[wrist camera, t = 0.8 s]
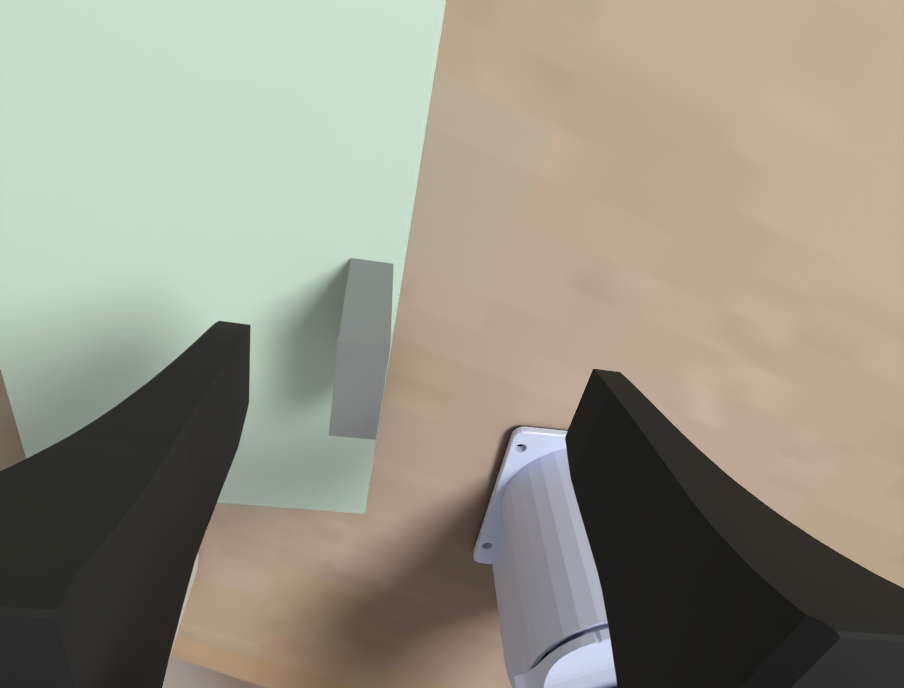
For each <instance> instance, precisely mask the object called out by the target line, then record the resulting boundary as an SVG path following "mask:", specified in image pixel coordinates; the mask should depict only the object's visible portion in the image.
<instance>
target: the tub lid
mask: <svg viewBox="0 0 904 688" xmlns="http://www.w3.org/2000/svg"><path fill="white" fill-rule="evenodd" d="M445 4H446V0H0V370H1V373H2V377H3V380H4V384H5V387H6V391H7V394H8V398H9V401H10V404H11V408H12V411H13V415H14V418H15V422H16V425H17V429H18V432H19V436H20V439H21V443H22V446H23V450H24V453H25V456H26V459H27V458H29V457H31V456H33V455H34V454H36V453H38V452H40V451H42V450H44V449H46V448H48V447H50V446H52V445H54V444H55V443H57V442H59V441H61V440H63V439H65V438H67V437H68V436H70V435H72V434H74V433H75V432H77V431H78V430H80V429H82V428H83V427H85V426H86V425H88V424H90V423H91V422H93V421H94V420H96V419H97V418H99V417H101V416H102V415H103V414H105V413H106V412H108V411H109V410H111V409H112V408H114V407H115V406H117V405H118V404H119V403H121V402H122V401H123V400H125V399H126V398H127V397H129V396H130V395H131V394H133V393H134V392H135V391H137V390H138V389H139V388H141V387H142V386H143V385H145V384H146V383H147V382H149V381H150V380H151V379H152V378H154V377H155V376H156V375H157V374H158V373H160V372H161V371H162V370H163V369H164V368H165V367H167V366H168V365H169V364H170V363H171V362H173V361H174V360H175V359H176V358H177V357H178V356H180V355H181V354H182V353H183V352H184V351H185V350H186V349H187V348H188V347H190V346H191V345H192V344H193V343H194V342H195V341H196V340H197V339H198V338H199V337H200V336H201V335H203V334H204V333H205V332H206V331H207V330H208V329H209V328H210V327H211V326H212V325H213V324H215V323H216V322H218V321H225V322H233V323H241V324H248V325H251V326H250V379H249V405H248V409H247V414H246V418H245V422H244V426H243V430H242V434H241V438H240V442H239V446H238V449H237V451H236V454H235V457H234V459H233V462H232V464H231V467H230V470H229V472H228V475H227V477H226V480H225V483H224V485H223V488H222V490H221V493H220V495H219V498H218V501H217V503H228V504H241V505H255V506H269V507H282V508H296V509H309V510H323V511H337V512H350V513H364V514H365V509H366V503H367V496H368V490H369V484H370V477H371V471H372V465H373V459H374V452H375V446H376V440H377V433H378V427H379V421H380V414H381V408H382V402H383V395H384V389H385V383H386V376H387V370H388V364H389V357H390V351H391V345H392V339H393V332H394V326H395V320H396V313H397V307H398V301H399V294H400V288H401V282H402V275H403V269H404V263H405V256H406V250H407V244H408V237H409V231H410V225H411V218H412V212H413V206H414V200H415V193H416V187H417V181H418V174H419V168H420V162H421V155H422V149H423V143H424V136H425V130H426V124H427V117H428V111H429V105H430V98H431V92H432V86H433V80H434V73H435V67H436V61H437V54H438V48H439V42H440V35H441V29H442V23H443V16H444V10H445Z"/></svg>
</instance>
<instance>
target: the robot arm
mask: <svg viewBox="0 0 904 688" xmlns="http://www.w3.org/2000/svg"><path fill="white" fill-rule="evenodd" d="M250 326H251V325H248V324H241V323H233V322H225V321H218V322H216V323H215V324H213V325H212V326H211V327H210V328H209V329H208V330H207V331H206V332H205V333H204V334H203V335H201V336H200V337H199V338H198V339H197V340H196V341H195V342H194V343H193V344H192V345H191V346H190V347H188V348H187V349H186V350H185V351H184V352H183V353H182V354H181V355H180V356H178V357H177V358H176V359H175V360H174V361H173V362H171V363H170V364H169V365H168V366H167V367H165V368H164V369H163V370H162V371H161V372H160V373H158V374H157V375H156V376H155V377H154V378H152V379H151V380H150V381H149V382H147V383H146V384H145V385H143V386H142V387H141V388H139V389H138V390H137V391H135V392H134V393H133V394H131V395H130V396H129V397H127V398H126V399H125V400H123V401H122V402H121V403H119V404H118V405H117V406H115V407H114V408H112V409H111V410H109V411H108V412H106V413H105V414H103V415H102V416H101V417H99V418H97V419H96V420H94V421H93V422H91V423H90V424H88V425H86V426H85V427H83V428H82V429H80V430H78V431H77V432H75V433H74V434H72V435H70V436H68V437H67V438H65V439H63V440H61V441H59V442H57V443H55V444H54V445H52V446H50V447H48V448H46V449H44V450H42V451H40V452H38V453H36V454H34V455H33V456H31V457H29V458H27V459H25V460H23V461H21V462H19V463H17V464H15V465H13V466H11V467H9V468H7V469H5V470H2V471H0V688H162V685H163V681H164V677H165V673H166V669H167V665H168V661H169V657H170V653H171V649H172V645H173V642H174V638H175V634H176V630H177V626H178V622H179V618H180V615H181V611H182V607H183V603H184V600H185V596H186V592H187V589H188V585H189V581H190V578H191V574H192V570H193V567H194V563H195V560H196V557H197V554H198V551H199V548H200V545H201V542H202V539H203V537H204V534H205V531H206V529H207V526H208V524H209V521H210V519H211V516H212V513H213V511H214V508H215V506H216V503H217V501H218V498H219V495H220V493H221V490H222V488H223V485H224V483H225V480H226V477H227V475H228V472H229V470H230V467H231V464H232V462H233V459H234V457H235V454H236V451H237V449H238V446H239V442H240V438H241V434H242V430H243V426H244V422H245V418H246V414H247V409H248V405H249V379H250ZM519 444H524V445H522V446H517V445H519ZM473 557H474V560H475V561H476V562H478V563H484V564H492V566H493V574H494V582H495V590H496V598H497V606H498V614H499V622H500V629H501V637H502V645H503V653H504V661H505V667H506V671H507V675H508V678H509V681H510V683H511V685H512V687H513V688H904V588H902V587H900V586H898V585H896V584H894V583H892V582H890V581H888V580H886V579H884V578H882V577H880V576H878V575H876V574H875V573H873V572H871V571H869V570H867V569H866V568H864V567H862V566H860V565H859V564H857V563H855V562H853V561H852V560H850V559H848V558H846V557H845V556H843V555H841V554H839V553H838V552H836V551H834V550H833V549H831V548H830V547H828V546H826V545H825V544H823V543H821V542H820V541H818V540H817V539H815V538H813V537H812V536H810V535H809V534H807V533H806V532H804V531H803V530H801V529H800V528H798V527H797V526H795V525H794V524H792V523H791V522H789V521H788V520H786V519H785V518H783V517H782V516H781V515H779V514H778V513H776V512H775V511H774V510H772V509H771V508H769V507H768V506H767V505H765V504H764V503H763V502H761V501H760V500H759V499H757V498H756V497H755V496H754V495H752V494H751V493H750V492H748V491H747V490H746V489H745V488H743V487H742V486H741V485H739V484H738V483H737V482H736V481H734V480H733V479H732V478H731V477H730V476H728V475H727V474H726V473H725V472H724V471H722V470H721V469H720V468H719V467H718V466H717V465H716V464H715V463H714V462H712V461H711V460H710V459H709V458H708V457H707V456H706V455H705V454H703V453H702V452H701V451H700V450H699V449H698V448H697V447H696V446H695V445H694V444H693V443H692V442H691V441H689V440H688V439H687V438H686V437H685V436H684V435H683V434H682V433H681V432H680V431H679V430H678V429H677V428H676V427H675V426H674V425H673V424H672V423H671V422H670V421H669V420H668V419H667V418H666V417H665V416H664V415H663V414H662V413H661V412H660V411H659V410H658V409H657V408H656V407H655V406H654V405H653V404H652V403H651V402H650V401H649V400H648V399H647V398H646V397H645V396H644V395H643V394H642V393H641V392H640V391H639V390H638V389H637V388H636V387H635V386H634V385H633V384H632V383H631V382H630V381H629V380H628V379H627V378H626V377H625V376H624V375H622V374H621V373H620V372H614V371H606V370H598V369H593V371H592V373H591V376H590V378H589V381H588V383H587V386H586V388H585V390H584V393H583V395H582V398H581V400H580V403H579V405H578V407H577V410H576V412H575V415H574V417H573V420H572V422H571V424H570V427H569V429H568V431H564V430H554V429H544V428H534V427H519V428H517V429H515V430H514V431H513V432H512V434H511V437H510V440H509V443H508V447H507V450H506V453H505V456H504V459H503V462H502V465H501V468H500V471H499V474H498V477H497V480H496V483H495V486H494V490H493V493H492V496H491V499H490V502H489V505H488V508H487V511H486V514H485V517H484V520H483V523H482V526H481V529H480V533H479V536H478V539H477V542H476V545H475V548H474V551H473Z"/></svg>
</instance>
